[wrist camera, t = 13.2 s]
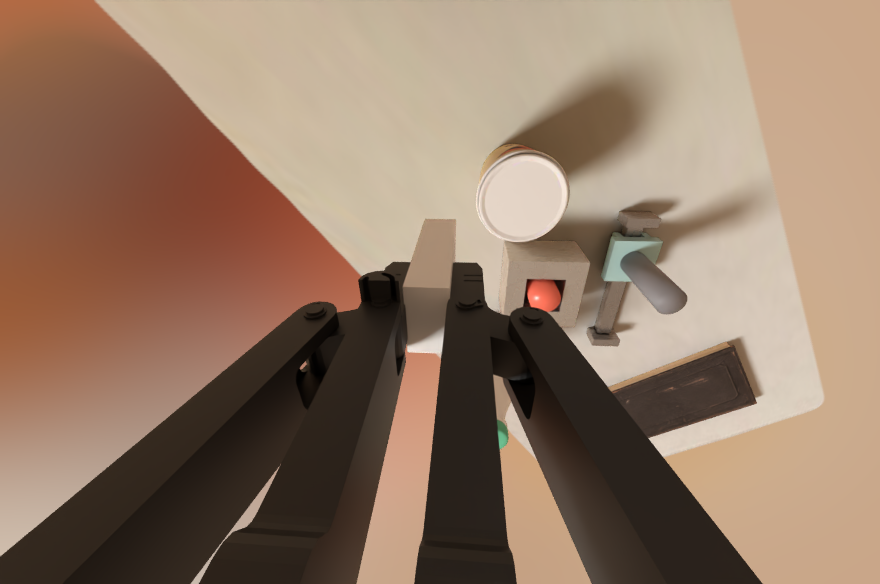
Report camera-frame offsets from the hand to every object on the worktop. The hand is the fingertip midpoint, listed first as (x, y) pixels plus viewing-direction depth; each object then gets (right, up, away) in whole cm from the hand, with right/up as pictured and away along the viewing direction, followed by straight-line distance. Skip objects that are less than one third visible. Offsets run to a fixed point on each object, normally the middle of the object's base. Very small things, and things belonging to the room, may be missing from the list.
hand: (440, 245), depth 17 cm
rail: (+26, 0, +34) cm, 43 cm away
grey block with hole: (+14, +1, +34) cm, 37 cm away
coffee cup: (+9, +13, +27) cm, 32 cm away
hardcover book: (+42, -21, +46) cm, 66 cm away
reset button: (+14, 0, +32) cm, 35 cm away
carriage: (+26, +3, +31) cm, 41 cm away
